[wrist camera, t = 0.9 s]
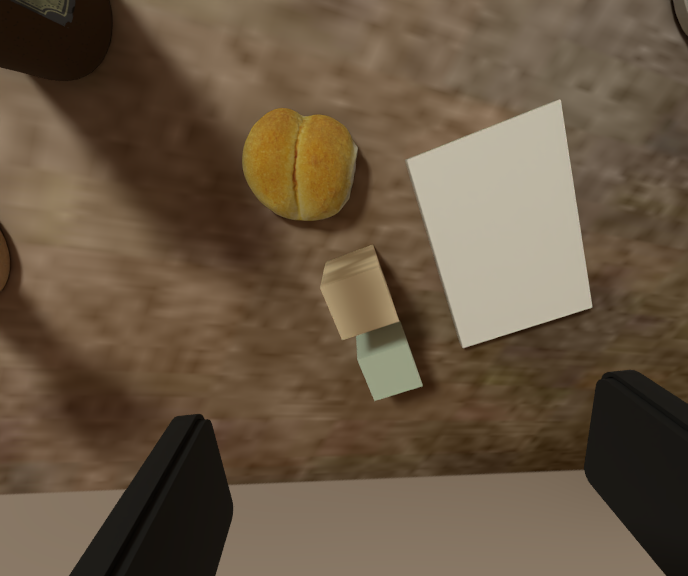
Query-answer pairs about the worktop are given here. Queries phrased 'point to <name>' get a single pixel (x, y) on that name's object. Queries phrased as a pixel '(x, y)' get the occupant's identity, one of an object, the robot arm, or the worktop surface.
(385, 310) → the maple block
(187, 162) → the worktop surface
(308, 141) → the bread roll
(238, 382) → the worktop surface
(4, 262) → the candle holder
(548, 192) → the ceramic tile
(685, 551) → the robot arm
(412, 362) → the sage cube
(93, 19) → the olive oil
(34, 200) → the worktop surface
